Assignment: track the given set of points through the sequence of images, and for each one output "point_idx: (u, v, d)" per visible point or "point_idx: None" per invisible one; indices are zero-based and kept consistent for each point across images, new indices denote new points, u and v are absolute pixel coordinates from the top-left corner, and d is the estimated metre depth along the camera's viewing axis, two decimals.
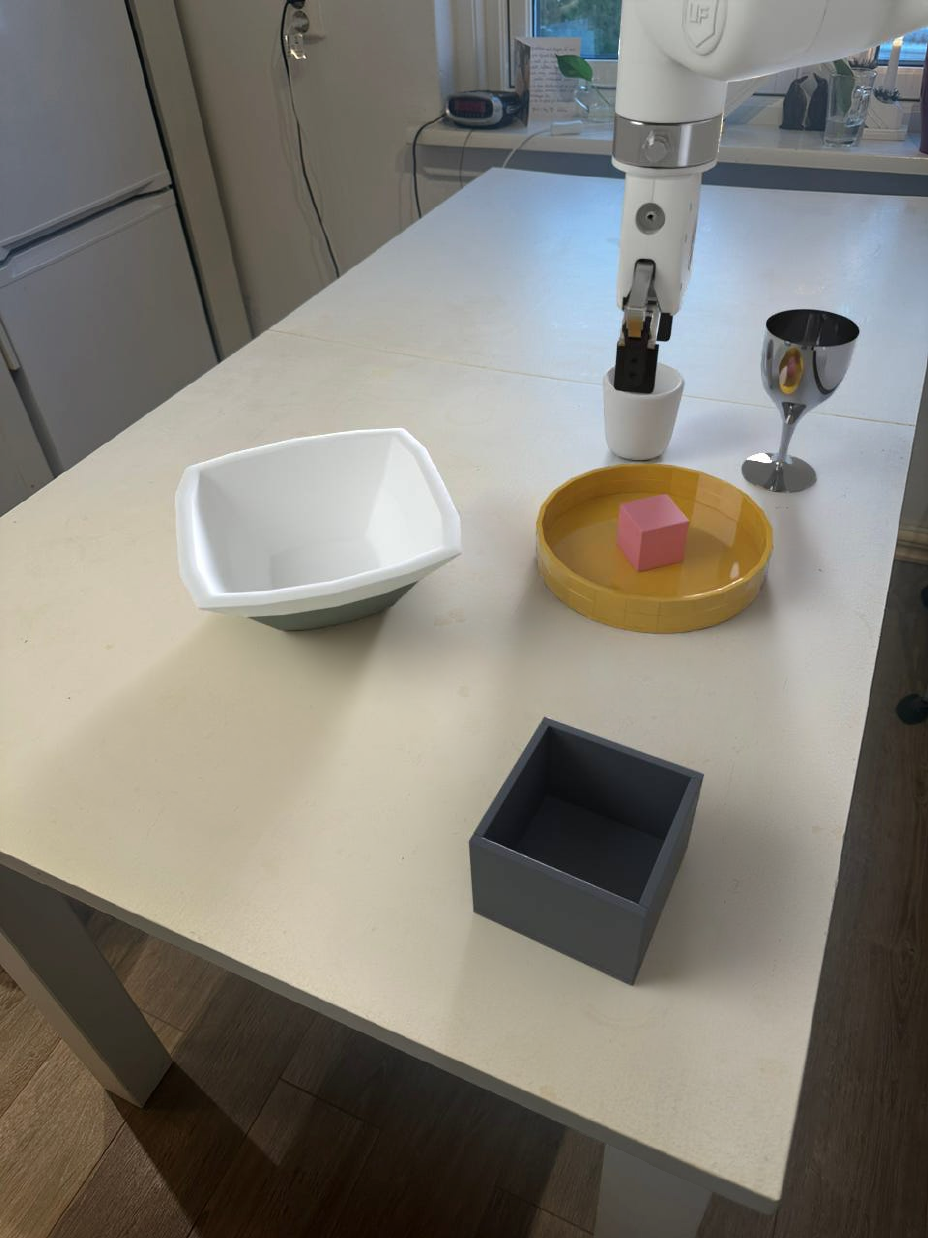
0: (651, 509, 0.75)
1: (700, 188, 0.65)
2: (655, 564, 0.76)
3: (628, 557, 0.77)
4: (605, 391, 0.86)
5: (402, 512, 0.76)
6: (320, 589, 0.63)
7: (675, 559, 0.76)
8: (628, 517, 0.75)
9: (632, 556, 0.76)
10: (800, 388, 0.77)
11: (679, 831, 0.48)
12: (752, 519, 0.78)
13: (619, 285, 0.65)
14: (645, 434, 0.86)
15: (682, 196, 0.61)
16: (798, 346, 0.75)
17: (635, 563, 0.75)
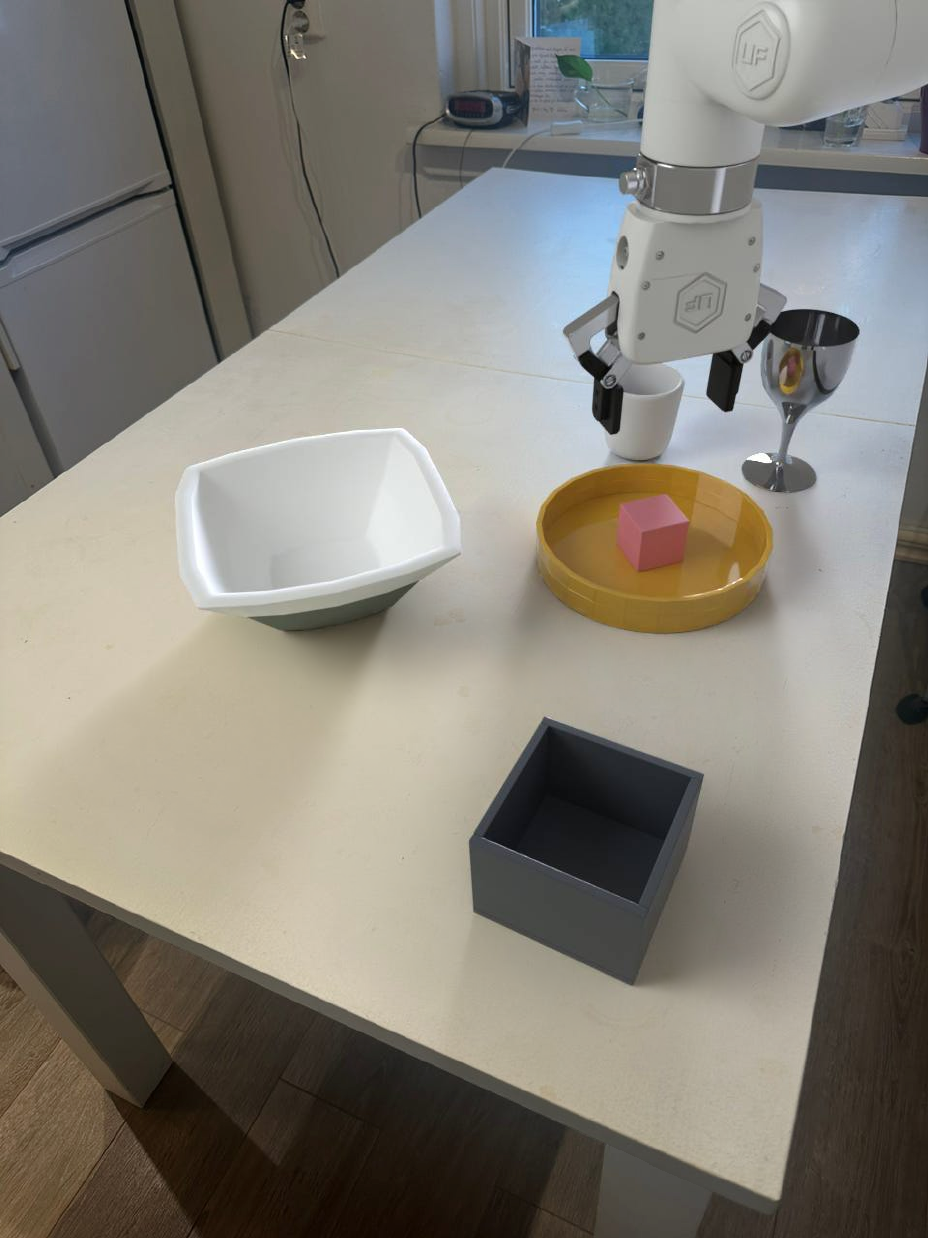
0: (651, 509, 0.75)
1: (723, 247, 0.58)
2: (655, 564, 0.76)
3: (628, 557, 0.77)
4: None
5: (402, 512, 0.76)
6: (320, 589, 0.63)
7: (675, 559, 0.76)
8: (628, 517, 0.75)
9: (632, 556, 0.76)
10: (800, 388, 0.77)
11: (679, 831, 0.48)
12: (752, 519, 0.78)
13: None
14: (645, 434, 0.86)
15: (644, 239, 0.57)
16: (798, 346, 0.75)
17: (635, 563, 0.75)
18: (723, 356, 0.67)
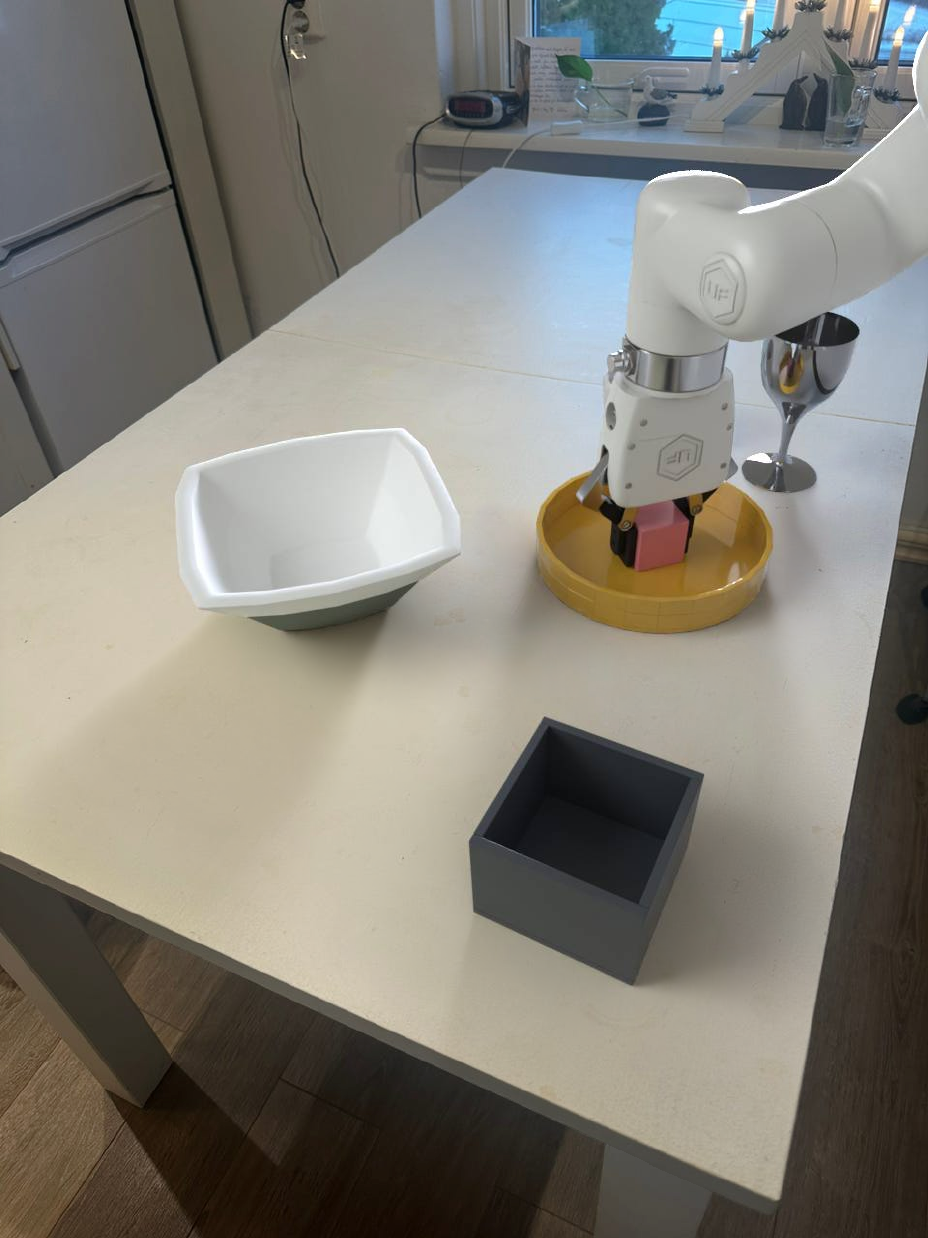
0: (651, 509, 0.75)
1: (699, 413, 0.66)
2: (655, 564, 0.76)
3: None
4: (605, 391, 0.86)
5: (402, 512, 0.76)
6: (320, 589, 0.63)
7: (675, 559, 0.76)
8: None
9: None
10: (800, 388, 0.77)
11: (679, 831, 0.48)
12: (752, 519, 0.78)
13: (597, 458, 0.72)
14: None
15: (629, 410, 0.65)
16: (798, 346, 0.75)
17: (635, 562, 0.75)
18: None
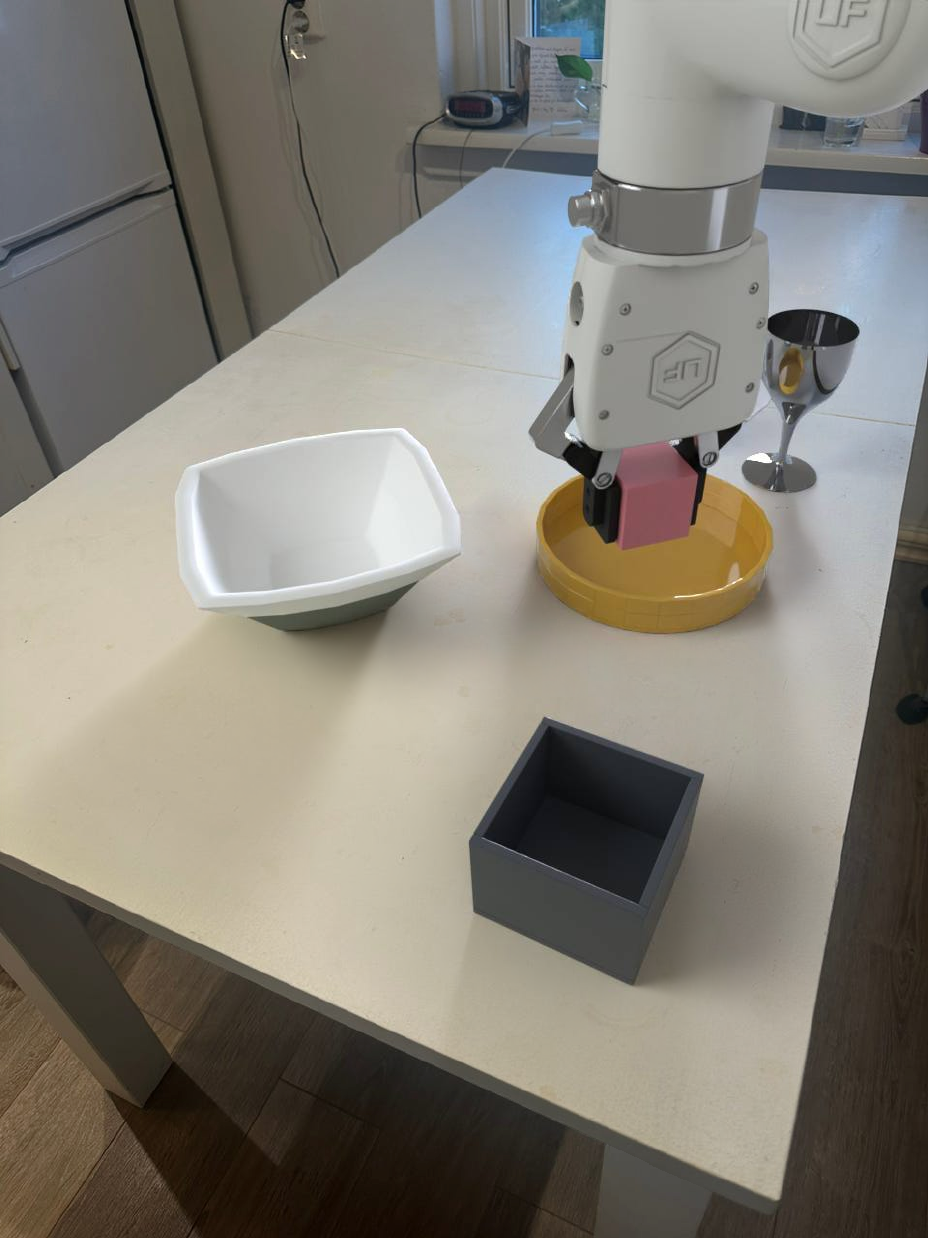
0: (643, 458, 0.51)
1: (714, 297, 0.42)
2: (648, 539, 0.52)
3: None
4: None
5: (402, 512, 0.76)
6: (320, 589, 0.63)
7: (677, 532, 0.52)
8: None
9: None
10: (800, 388, 0.77)
11: (679, 831, 0.48)
12: (752, 519, 0.78)
13: None
14: None
15: (603, 288, 0.41)
16: (798, 346, 0.75)
17: (619, 537, 0.52)
18: None
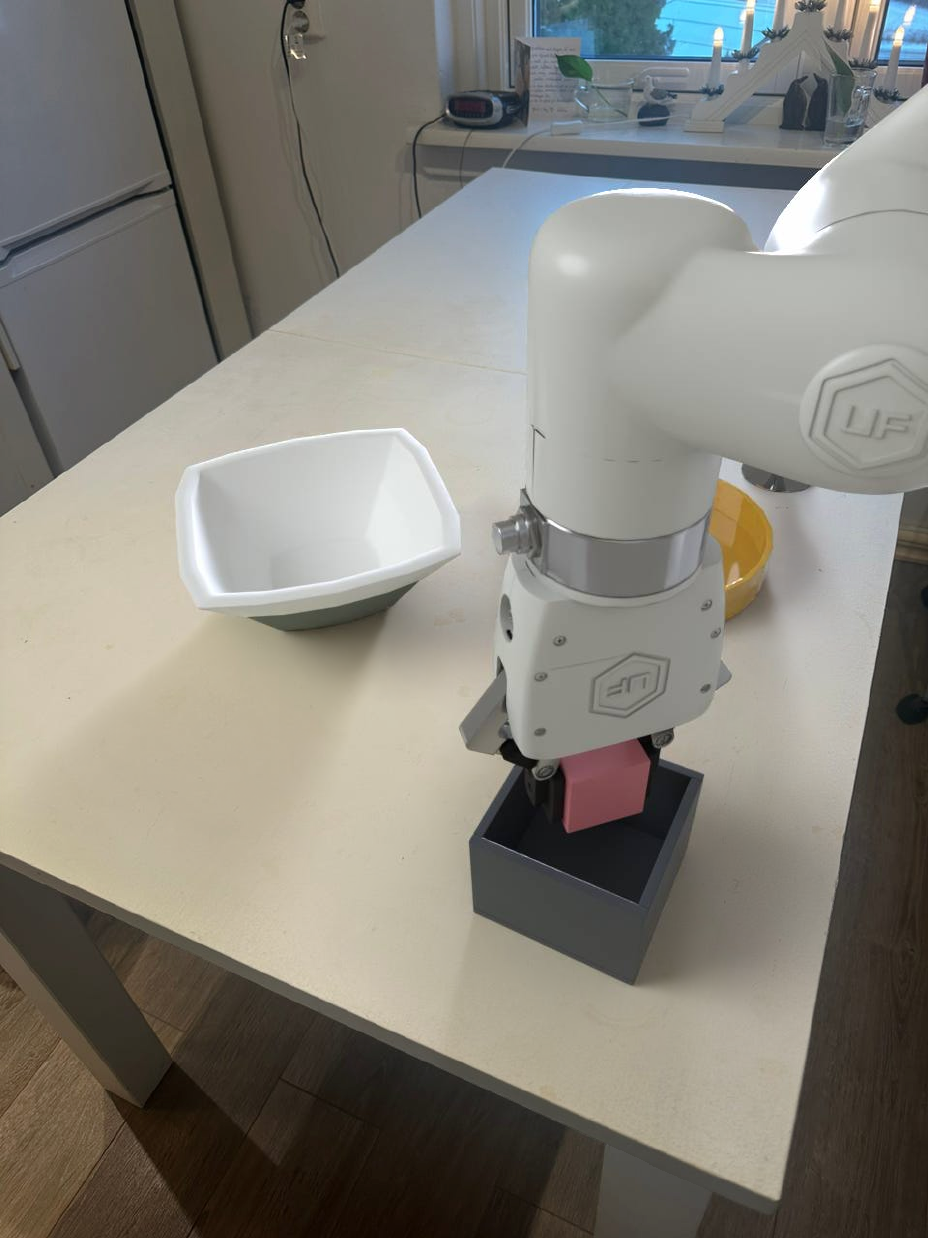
0: None
1: (661, 620, 0.37)
2: (597, 821, 0.47)
3: None
4: None
5: (402, 512, 0.76)
6: (320, 589, 0.63)
7: (629, 811, 0.47)
8: None
9: None
10: None
11: (679, 831, 0.48)
12: (752, 519, 0.78)
13: None
14: None
15: (533, 621, 0.36)
16: None
17: (564, 819, 0.46)
18: None
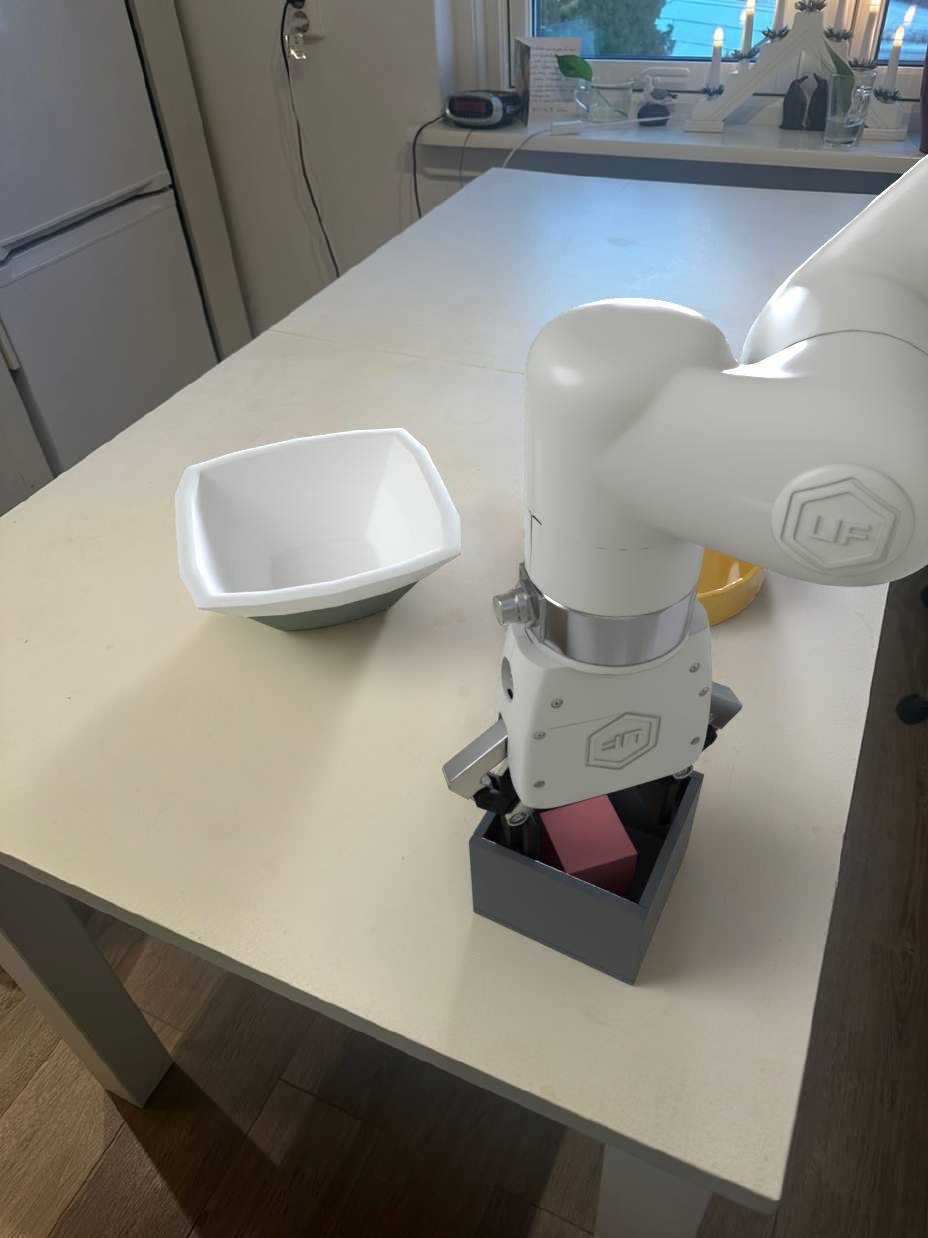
0: (584, 827, 0.51)
1: (652, 683, 0.39)
2: None
3: None
4: None
5: (402, 512, 0.76)
6: (320, 589, 0.63)
7: (619, 893, 0.52)
8: (550, 841, 0.51)
9: None
10: None
11: (679, 831, 0.48)
12: None
13: None
14: None
15: (532, 685, 0.38)
16: None
17: None
18: None
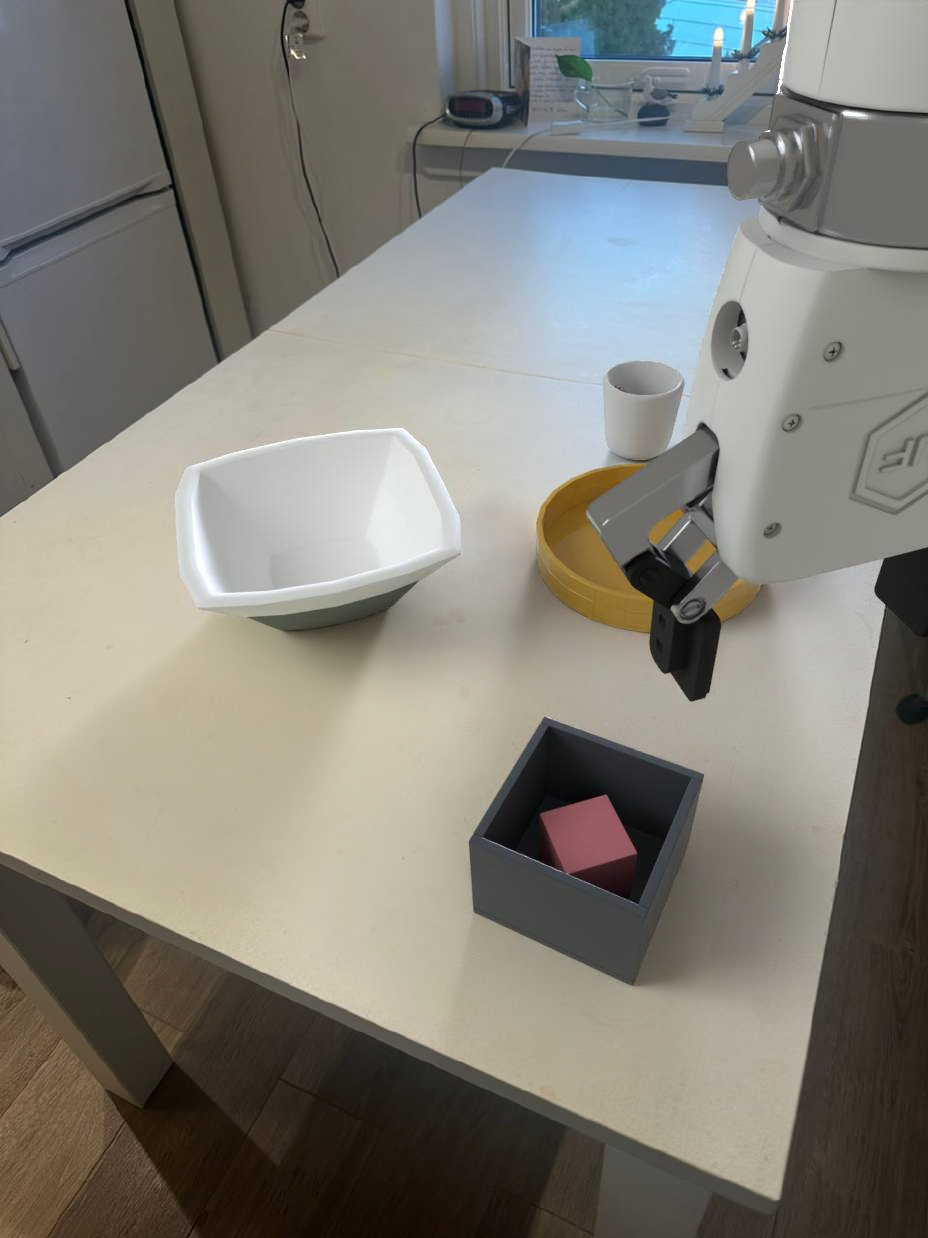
0: (584, 827, 0.51)
1: None
2: None
3: None
4: (605, 391, 0.86)
5: (402, 512, 0.76)
6: (320, 589, 0.63)
7: (619, 893, 0.52)
8: (550, 841, 0.51)
9: None
10: None
11: (679, 831, 0.48)
12: None
13: None
14: (645, 434, 0.86)
15: (794, 314, 0.22)
16: None
17: None
18: None
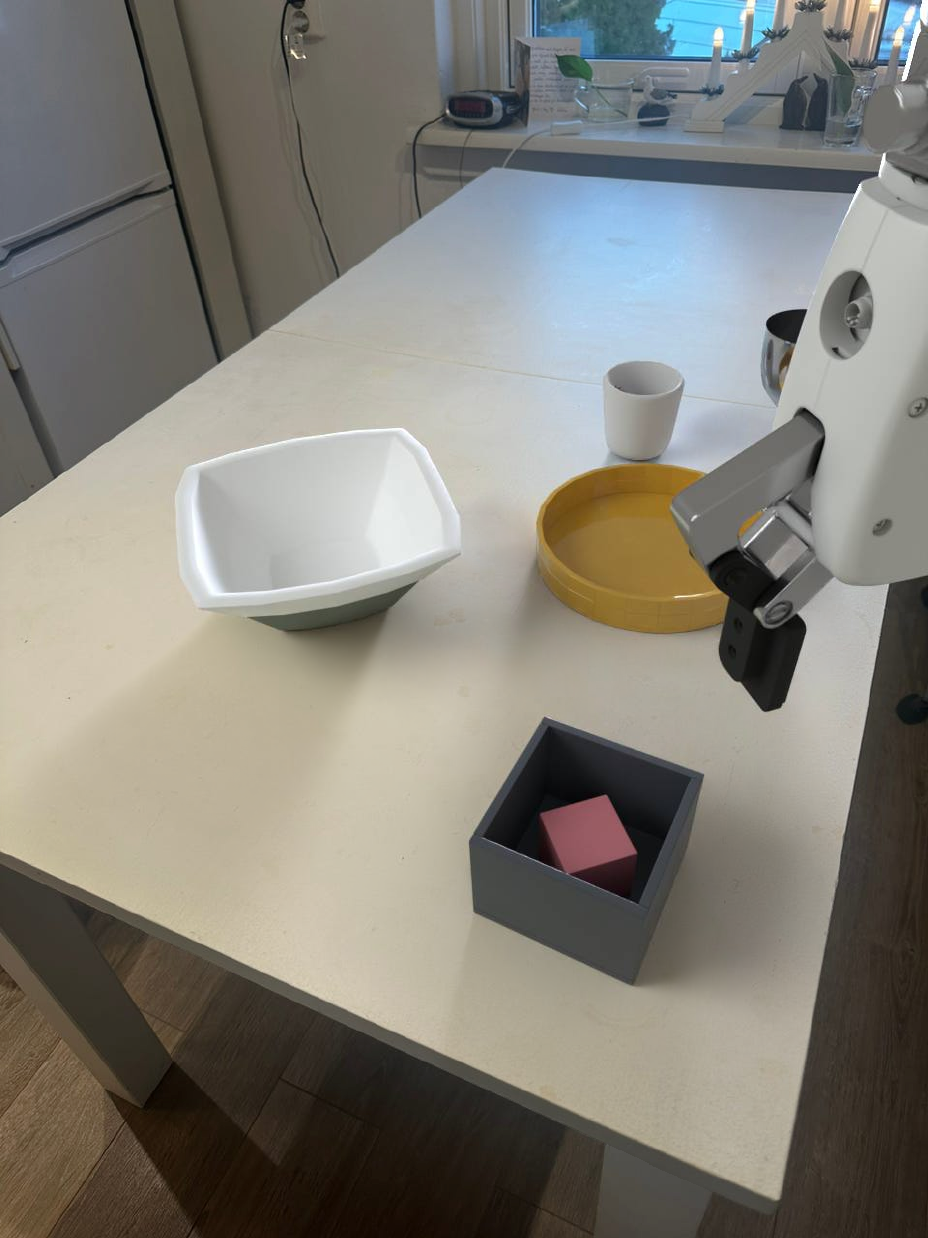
0: (584, 827, 0.51)
1: None
2: None
3: None
4: (605, 391, 0.86)
5: (402, 512, 0.76)
6: (320, 589, 0.63)
7: (619, 893, 0.52)
8: (550, 841, 0.51)
9: None
10: None
11: (679, 831, 0.48)
12: (752, 519, 0.78)
13: None
14: (645, 434, 0.86)
15: None
16: None
17: None
18: None
